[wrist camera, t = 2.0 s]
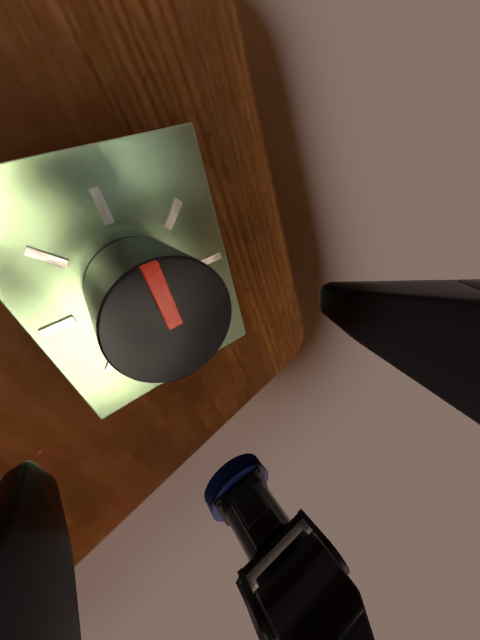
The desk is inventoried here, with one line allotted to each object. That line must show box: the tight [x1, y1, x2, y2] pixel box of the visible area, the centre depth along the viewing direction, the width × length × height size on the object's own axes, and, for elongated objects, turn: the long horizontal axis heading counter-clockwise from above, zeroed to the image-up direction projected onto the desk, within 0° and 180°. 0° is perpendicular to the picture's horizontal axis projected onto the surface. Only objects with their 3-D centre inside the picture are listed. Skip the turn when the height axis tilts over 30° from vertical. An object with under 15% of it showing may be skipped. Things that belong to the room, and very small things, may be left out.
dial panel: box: [0, 122, 246, 420], centre depth 14 cm, size 12×10×3 cm
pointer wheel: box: [83, 237, 232, 383], centre depth 11 cm, size 5×5×5 cm
